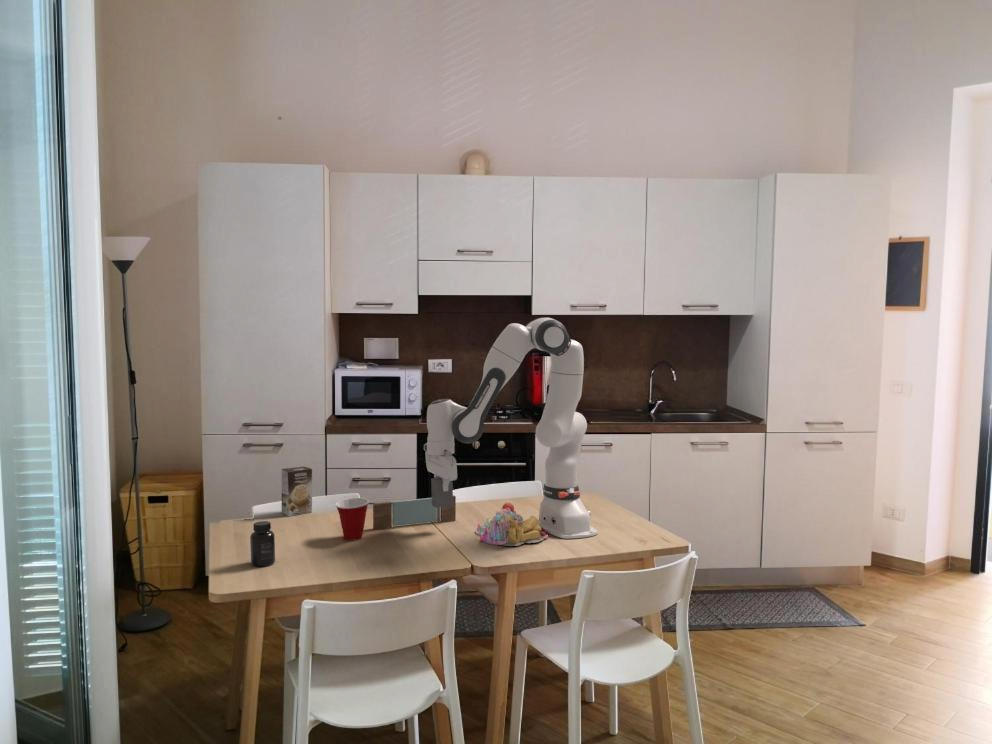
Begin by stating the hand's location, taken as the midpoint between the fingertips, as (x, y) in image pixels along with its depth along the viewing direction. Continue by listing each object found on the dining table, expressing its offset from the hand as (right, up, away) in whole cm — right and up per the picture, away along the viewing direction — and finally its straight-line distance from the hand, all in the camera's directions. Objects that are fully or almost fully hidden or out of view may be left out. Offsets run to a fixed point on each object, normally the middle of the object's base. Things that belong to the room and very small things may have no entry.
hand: (442, 489), depth 267 cm
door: (-9, -13, +8) cm, 18 cm away
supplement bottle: (-50, -17, -33) cm, 62 cm away
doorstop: (0, -5, 0) cm, 5 cm away
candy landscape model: (+22, -15, -3) cm, 27 cm away
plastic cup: (-29, -15, -8) cm, 33 cm away
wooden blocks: (-9, -13, +8) cm, 18 cm away
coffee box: (-54, -12, +22) cm, 59 cm away
